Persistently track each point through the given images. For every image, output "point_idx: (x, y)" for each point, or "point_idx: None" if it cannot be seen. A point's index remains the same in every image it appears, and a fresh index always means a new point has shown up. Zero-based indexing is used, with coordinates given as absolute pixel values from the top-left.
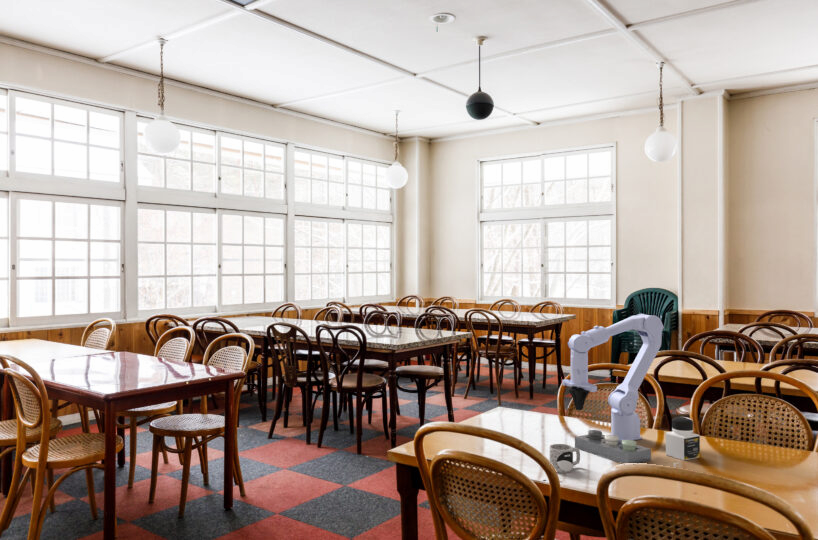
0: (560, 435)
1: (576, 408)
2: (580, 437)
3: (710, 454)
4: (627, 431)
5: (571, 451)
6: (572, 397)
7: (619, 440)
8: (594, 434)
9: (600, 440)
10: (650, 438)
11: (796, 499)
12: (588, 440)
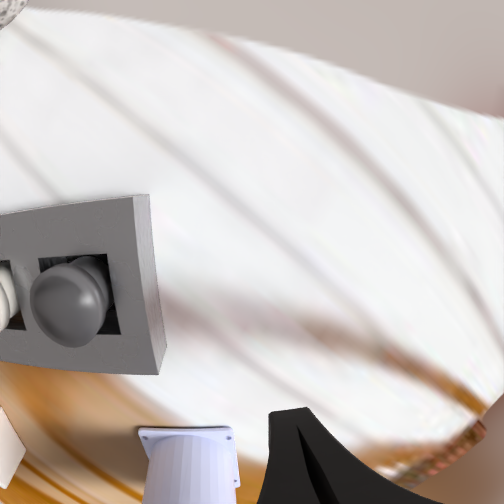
0: (366, 283)
1: (294, 414)
2: (107, 220)
3: None
4: (147, 473)
5: None
6: (378, 478)
7: (17, 354)
8: (39, 277)
9: (28, 279)
10: None
11: None
12: (44, 220)
